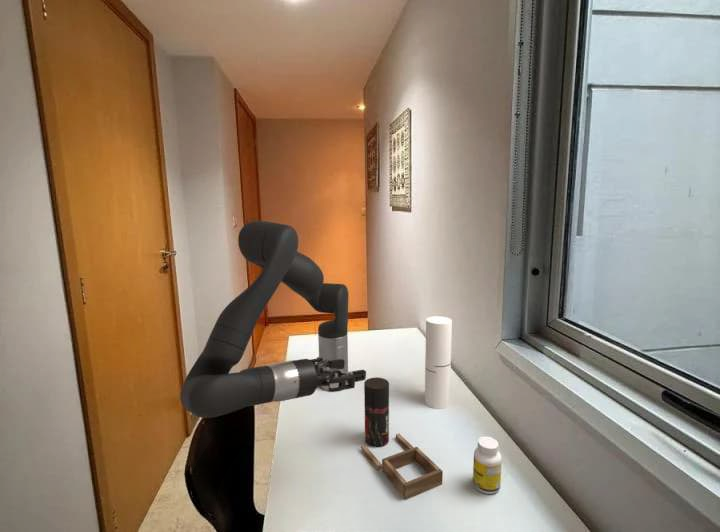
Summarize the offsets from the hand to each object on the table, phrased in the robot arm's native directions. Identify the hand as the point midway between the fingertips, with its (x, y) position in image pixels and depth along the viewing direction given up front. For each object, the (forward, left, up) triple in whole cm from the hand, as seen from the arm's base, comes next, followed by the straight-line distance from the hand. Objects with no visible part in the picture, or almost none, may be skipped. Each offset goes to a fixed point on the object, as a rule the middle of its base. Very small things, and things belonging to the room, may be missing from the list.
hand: (353, 368), depth 87 cm
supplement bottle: (+30, -2, -20) cm, 36 cm away
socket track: (+12, -2, -20) cm, 23 cm away
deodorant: (+4, +5, -20) cm, 21 cm away
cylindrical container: (+15, +28, -20) cm, 38 cm away
